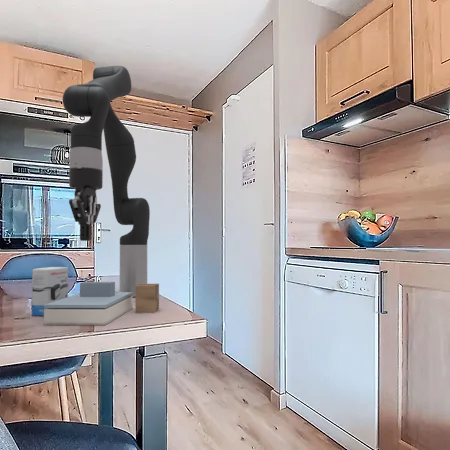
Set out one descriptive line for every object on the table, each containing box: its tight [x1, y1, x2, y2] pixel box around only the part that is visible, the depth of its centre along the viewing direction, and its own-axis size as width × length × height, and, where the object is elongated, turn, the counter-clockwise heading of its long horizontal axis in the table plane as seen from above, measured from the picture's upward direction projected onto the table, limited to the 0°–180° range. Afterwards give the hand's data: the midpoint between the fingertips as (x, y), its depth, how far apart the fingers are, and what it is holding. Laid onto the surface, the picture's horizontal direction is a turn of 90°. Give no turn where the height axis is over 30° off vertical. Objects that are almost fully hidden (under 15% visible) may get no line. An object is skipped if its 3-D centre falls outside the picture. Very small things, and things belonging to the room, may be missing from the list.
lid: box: [44, 281, 133, 308], centre depth 93 cm, size 20×14×4 cm
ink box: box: [31, 266, 69, 317], centre depth 98 cm, size 8×5×12 cm, turn 168°
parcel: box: [135, 283, 160, 314], centre depth 100 cm, size 5×5×7 cm
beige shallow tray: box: [43, 296, 134, 326], centre depth 93 cm, size 20×14×4 cm
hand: (85, 240), depth 89 cm, fingers closed
